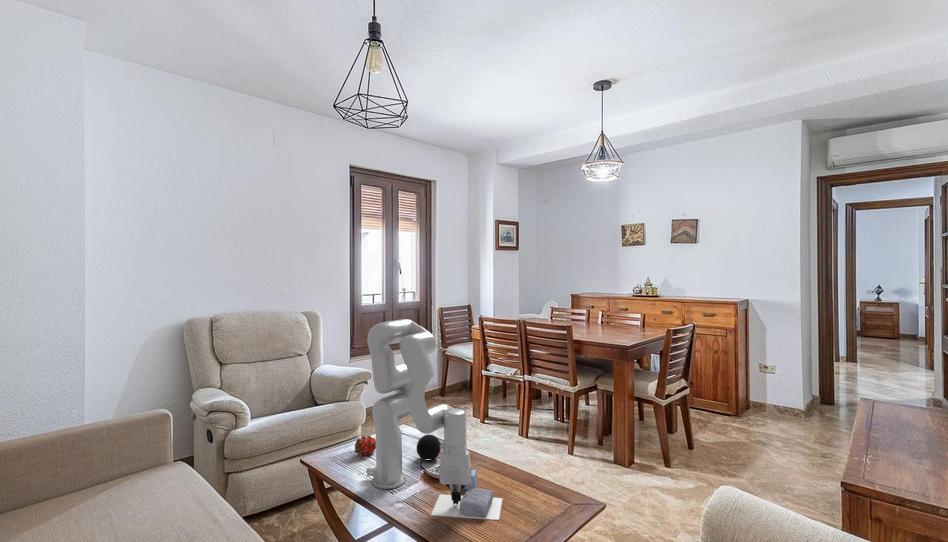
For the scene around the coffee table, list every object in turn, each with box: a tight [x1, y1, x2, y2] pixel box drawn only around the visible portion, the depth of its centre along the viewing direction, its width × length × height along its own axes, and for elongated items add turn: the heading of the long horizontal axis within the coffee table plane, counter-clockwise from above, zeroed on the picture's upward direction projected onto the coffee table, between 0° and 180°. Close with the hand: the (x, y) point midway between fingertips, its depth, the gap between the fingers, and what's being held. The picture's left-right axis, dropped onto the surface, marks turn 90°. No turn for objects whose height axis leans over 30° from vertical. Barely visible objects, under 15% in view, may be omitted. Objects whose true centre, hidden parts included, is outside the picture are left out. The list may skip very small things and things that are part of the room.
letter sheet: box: [430, 493, 503, 521], centre depth 149 cm, size 22×13×1 cm, turn 81°
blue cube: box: [462, 469, 477, 490], centre depth 163 cm, size 5×5×5 cm
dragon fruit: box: [354, 435, 376, 458], centre depth 192 cm, size 8×8×12 cm
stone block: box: [460, 487, 494, 517], centre depth 149 cm, size 12×5×10 cm
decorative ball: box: [416, 434, 442, 461], centre depth 186 cm, size 10×10×10 cm
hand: (456, 502), depth 150 cm, fingers closed
